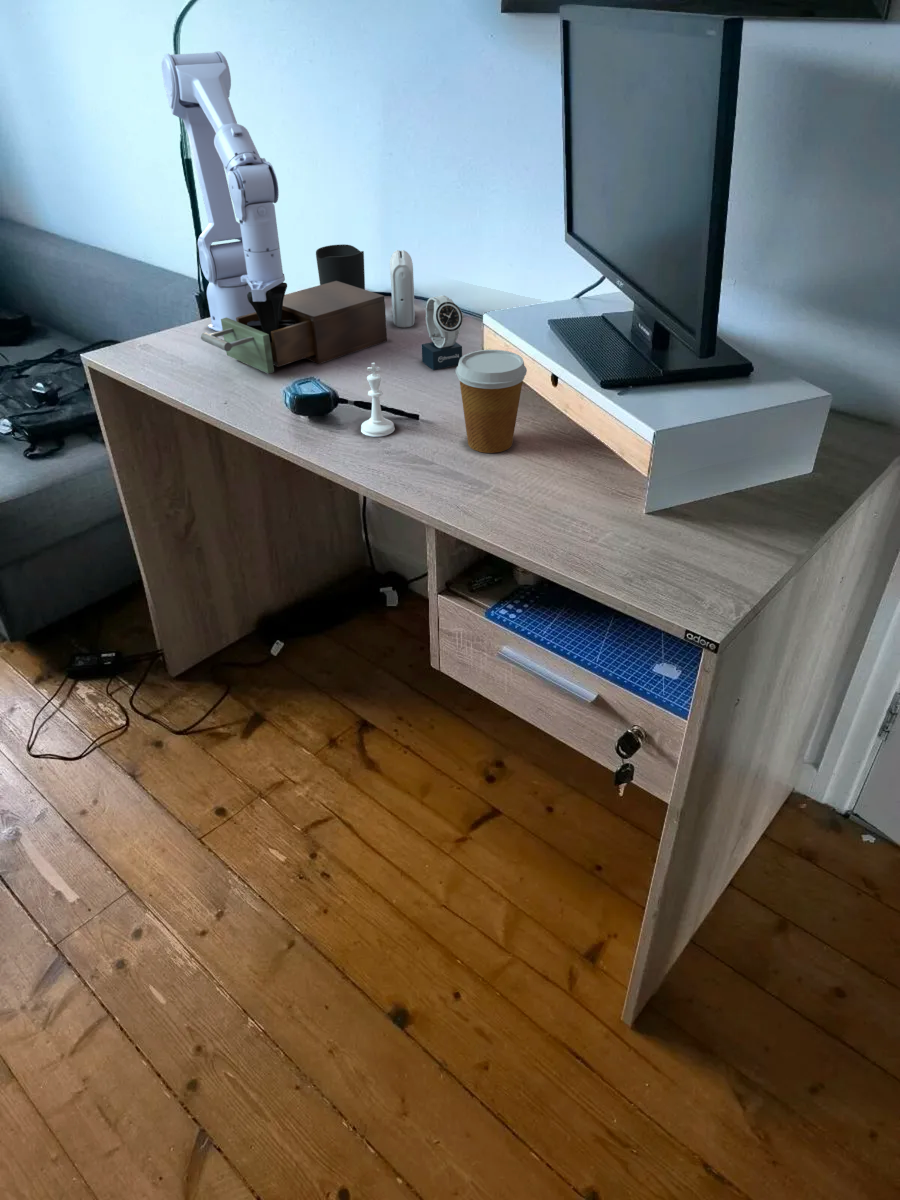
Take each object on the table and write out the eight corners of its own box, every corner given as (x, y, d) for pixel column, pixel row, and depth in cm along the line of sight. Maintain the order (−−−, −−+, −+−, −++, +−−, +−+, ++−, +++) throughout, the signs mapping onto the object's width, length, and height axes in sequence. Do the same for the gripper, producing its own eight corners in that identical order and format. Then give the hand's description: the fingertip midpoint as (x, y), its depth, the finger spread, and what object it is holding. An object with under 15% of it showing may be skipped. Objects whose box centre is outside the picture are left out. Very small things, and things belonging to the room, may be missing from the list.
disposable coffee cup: (446, 452, 118) (445, 369, 111) (469, 425, 126) (469, 345, 118) (512, 463, 116) (514, 378, 108) (532, 434, 123) (535, 352, 116)
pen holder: (315, 308, 171) (309, 256, 165) (328, 294, 178) (323, 243, 172) (360, 310, 170) (356, 257, 164) (371, 295, 177) (368, 245, 171)
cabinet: (319, 364, 146) (313, 316, 141) (272, 345, 154) (266, 299, 149) (387, 341, 155) (384, 295, 150) (340, 324, 163) (336, 280, 158)
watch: (438, 374, 142) (437, 307, 135) (417, 358, 148) (415, 294, 141) (468, 367, 144) (468, 301, 137) (446, 352, 150) (445, 288, 143)
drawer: (239, 383, 137) (232, 345, 134) (197, 364, 144) (190, 327, 141) (337, 351, 149) (334, 314, 145) (294, 334, 156) (290, 299, 152)
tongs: (248, 343, 145) (245, 325, 143) (251, 337, 147) (248, 320, 145) (295, 342, 144) (293, 325, 143) (297, 337, 147) (295, 319, 145)
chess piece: (360, 423, 127) (355, 357, 121) (394, 421, 127) (390, 356, 121) (360, 437, 123) (355, 370, 117) (395, 436, 123) (391, 369, 117)
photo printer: (416, 327, 161) (413, 259, 153) (393, 328, 160) (389, 260, 153) (413, 310, 169) (411, 244, 162) (392, 311, 169) (388, 245, 161)
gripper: (245, 237, 143) (257, 318, 151) (227, 260, 131) (241, 347, 139) (287, 236, 143) (297, 317, 151) (273, 259, 131) (284, 346, 139)
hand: (273, 332), depth 145 cm, fingers closed on tongs, 2 cm apart
